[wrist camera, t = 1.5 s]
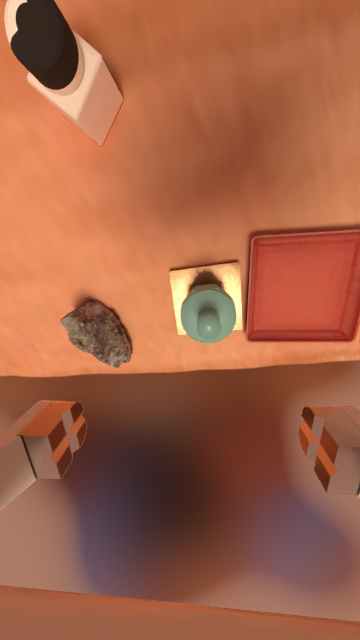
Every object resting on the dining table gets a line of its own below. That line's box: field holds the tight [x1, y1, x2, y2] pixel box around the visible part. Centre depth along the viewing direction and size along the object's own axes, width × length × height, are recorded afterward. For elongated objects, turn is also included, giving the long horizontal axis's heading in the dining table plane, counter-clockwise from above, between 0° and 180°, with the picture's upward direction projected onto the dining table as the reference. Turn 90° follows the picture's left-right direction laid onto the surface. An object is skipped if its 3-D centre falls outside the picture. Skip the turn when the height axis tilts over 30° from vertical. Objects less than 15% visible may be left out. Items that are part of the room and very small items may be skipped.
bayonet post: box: [169, 262, 242, 335], centre depth 33 cm, size 12×12×10 cm
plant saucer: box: [246, 229, 360, 343], centre depth 34 cm, size 18×18×3 cm
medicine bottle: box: [4, 0, 123, 146], centre depth 25 cm, size 7×7×12 cm
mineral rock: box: [61, 300, 131, 368], centre depth 37 cm, size 13×11×10 cm
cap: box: [180, 284, 237, 343], centre depth 27 cm, size 7×7×9 cm
